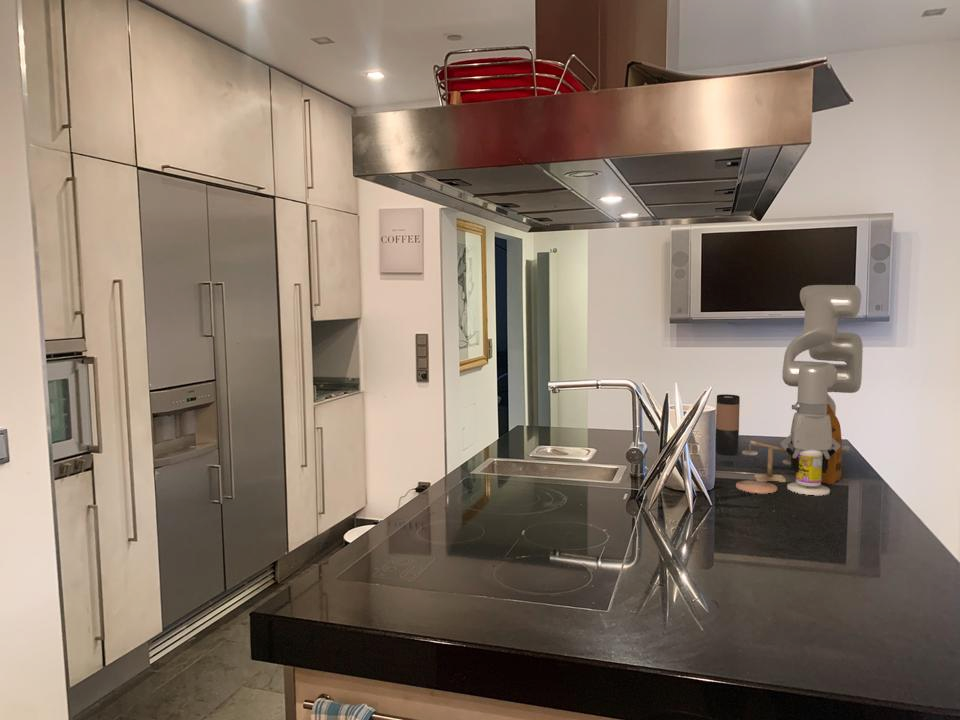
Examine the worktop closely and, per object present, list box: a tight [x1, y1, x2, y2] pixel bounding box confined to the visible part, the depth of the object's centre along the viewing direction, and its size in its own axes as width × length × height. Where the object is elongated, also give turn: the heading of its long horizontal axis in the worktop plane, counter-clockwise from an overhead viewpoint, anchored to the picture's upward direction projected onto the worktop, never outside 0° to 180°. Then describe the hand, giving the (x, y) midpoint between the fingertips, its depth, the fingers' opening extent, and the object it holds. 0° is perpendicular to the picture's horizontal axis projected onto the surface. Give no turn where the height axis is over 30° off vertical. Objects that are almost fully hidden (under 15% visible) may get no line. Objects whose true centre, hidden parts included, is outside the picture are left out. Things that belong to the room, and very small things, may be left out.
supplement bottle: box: [795, 450, 823, 486], centre depth 200 cm, size 7×7×13 cm
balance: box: [741, 440, 791, 483], centre depth 211 cm, size 16×4×12 cm, turn 82°
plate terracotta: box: [735, 480, 778, 495], centre depth 203 cm, size 11×11×1 cm
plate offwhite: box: [786, 481, 831, 497], centre depth 201 cm, size 11×11×1 cm
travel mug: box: [715, 394, 741, 456], centre depth 245 cm, size 8×8×20 cm
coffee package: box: [821, 404, 843, 485], centre depth 212 cm, size 10×12×22 cm
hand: (809, 470), depth 200 cm, fingers closed on supplement bottle, 6 cm apart
